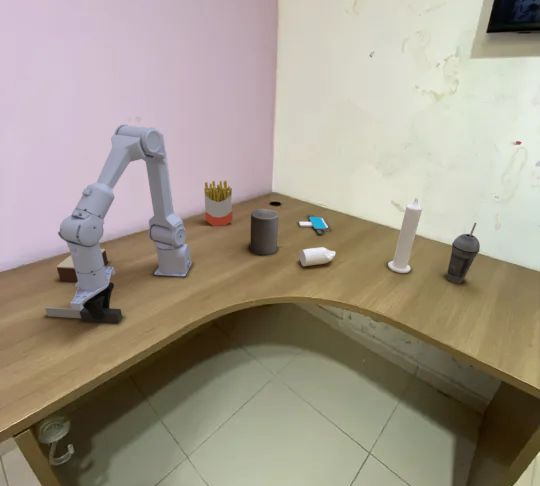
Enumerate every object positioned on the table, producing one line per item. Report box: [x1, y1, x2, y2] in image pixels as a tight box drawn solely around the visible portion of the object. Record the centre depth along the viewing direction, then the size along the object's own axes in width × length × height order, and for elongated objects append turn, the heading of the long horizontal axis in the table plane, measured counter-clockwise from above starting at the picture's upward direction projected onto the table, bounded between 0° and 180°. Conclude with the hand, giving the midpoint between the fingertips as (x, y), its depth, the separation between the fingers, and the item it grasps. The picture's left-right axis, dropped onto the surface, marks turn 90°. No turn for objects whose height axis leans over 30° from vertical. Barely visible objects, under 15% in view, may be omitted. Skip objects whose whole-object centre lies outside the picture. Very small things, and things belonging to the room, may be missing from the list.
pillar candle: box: [249, 208, 280, 256], centre depth 109 cm, size 10×10×15 cm
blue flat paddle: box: [298, 214, 331, 236], centre depth 133 cm, size 20×12×2 cm, turn 5°
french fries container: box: [204, 180, 233, 227], centre depth 127 cm, size 5×11×18 cm, turn 101°
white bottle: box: [298, 246, 336, 267], centre depth 103 cm, size 6×12×6 cm, turn 105°
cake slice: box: [101, 248, 109, 267], centre depth 97 cm, size 8×3×5 cm, turn 88°
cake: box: [55, 254, 78, 283], centre depth 91 cm, size 8×7×5 cm
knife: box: [44, 306, 123, 324], centre depth 75 cm, size 18×2×3 cm, turn 88°
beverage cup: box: [446, 222, 481, 284], centre depth 95 cm, size 7×7×20 cm
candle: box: [387, 196, 423, 274], centre depth 98 cm, size 7×7×25 cm
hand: (101, 314), depth 75 cm, fingers closed on knife, 2 cm apart
